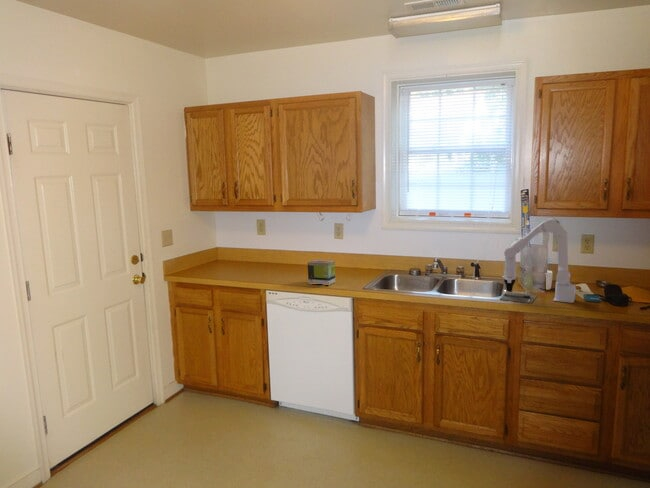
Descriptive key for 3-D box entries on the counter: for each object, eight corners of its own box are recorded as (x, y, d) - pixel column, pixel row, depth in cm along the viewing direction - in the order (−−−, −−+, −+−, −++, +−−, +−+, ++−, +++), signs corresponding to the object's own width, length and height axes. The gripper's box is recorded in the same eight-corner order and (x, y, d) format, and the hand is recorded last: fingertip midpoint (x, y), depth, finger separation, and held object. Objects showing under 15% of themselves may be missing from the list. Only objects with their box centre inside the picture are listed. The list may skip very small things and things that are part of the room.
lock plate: (536, 296, 260) (536, 295, 260) (531, 303, 247) (531, 302, 247) (505, 293, 268) (506, 292, 268) (499, 299, 256) (499, 298, 256)
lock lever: (531, 296, 258) (531, 292, 257) (529, 298, 255) (529, 293, 254) (504, 293, 265) (504, 289, 265) (502, 295, 262) (502, 290, 262)
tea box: (335, 282, 306) (335, 260, 304) (328, 286, 298) (328, 263, 295) (315, 281, 313) (314, 259, 311) (307, 284, 305) (307, 262, 302)
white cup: (553, 287, 277) (553, 270, 275) (550, 290, 271) (551, 273, 269) (538, 286, 281) (539, 269, 280) (535, 289, 275) (536, 272, 273)
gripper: (502, 265, 270) (502, 288, 272) (501, 271, 257) (501, 295, 259) (516, 266, 267) (515, 289, 269) (515, 271, 254) (514, 296, 256)
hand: (509, 292), depth 264 cm, fingers closed
